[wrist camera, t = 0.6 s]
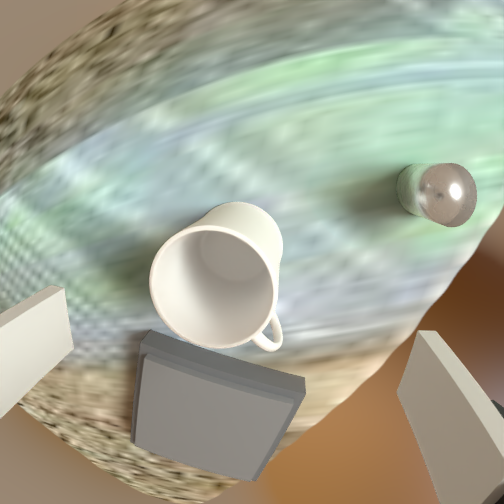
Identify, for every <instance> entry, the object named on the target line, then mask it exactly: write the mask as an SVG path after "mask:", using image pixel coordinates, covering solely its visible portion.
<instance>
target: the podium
mask: <svg viewBox="0 0 504 504" xmlns="http://www.w3.org/2000/svg"><path fill="white" fill-rule="evenodd" d="M305 395H306V389H305V378H304V377H300V376H296V375H292V374H288V373H284V372H281V371H277V370H273V369H269V368H266V367H262V366H259V365H255V364H252V363H248V362H245V361H242V360H238V359H235V358H232V357H228V356H225V355H222V354H219V353H216V352H213V351H210V350H206V349H203V348H200V347H197V346H195V345H192V344H189V343H186V342H183V341H180V340H177V339H174V338H172V337H169V336H166V335H163V334H161V333H158V332H155V331H153V330H150V331H149V332H148V334H147V335H146V336H145V337H144V339H143V340H142V341H141V342H140V349H139V357H138V365H137V373H136V382H135V391H134V401H133V413H132V425H131V440H130V442H131V443H134V444H135V446H137V447H139V448H142V449H144V450H147V451H149V452H152V453H154V454H157V455H160V456H163V457H165V458H168V459H171V460H174V461H177V462H180V463H183V464H186V465H189V466H192V467H195V468H199V469H202V470H206V471H209V472H213V473H216V474H220V475H224V476H228V477H232V478H236V479H240V480H244V481H249V482H250V481H251V480H252V481H256V480H257V479H258V477H259V475H260V474H261V472H262V471H263V469H264V467H265V466H266V464H267V462H268V461H269V459H270V458H271V456H272V454H273V452H274V451H275V449H276V447H277V446H278V444H279V442H280V440H281V439H282V437H283V435H284V433H285V432H286V430H287V428H288V426H289V425H290V423H291V421H292V419H293V417H294V415H295V414H296V412H297V410H298V408H299V406H300V404H301V402H302V400H303V399H304V397H305Z"/></svg>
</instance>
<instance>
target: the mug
mask: <svg viewBox="0 0 504 504" xmlns="http://www.w3.org/2000/svg"><path fill="white" fill-rule="evenodd" d="M282 252H283V242H282V237H281V233H280V231H279V228H278V226H277V224H276V223H275V221H274V220H273V219H272V218H271V217H270V215H268V214H267V213H266V212H265V211H264V210H262V209H261V208H259V207H257V206H255V205H252V204H249V203H244V202H229V203H225V204H222V205H219V206H217V207H215V208H214V209H212V210H211V211H209V212H208V213H207V214H206V215H205V216H204V217H203V218H202V219H200V220H198V221H196V222H195V223H193V224H191V225H190V226H188V227H186V228H185V229H183V230H181V231H180V232H178V233H176V234H175V235H173V236H172V237H171V238H169V239H168V240H167V241H166V242H165V243H164V244H163V245H162V247H161V248H160V249H159V251H158V252H157V254H156V256H155V258H154V260H153V263H152V266H151V270H150V277H149V287H150V294H151V298H152V301H153V304H154V306H155V309H156V311H157V313H158V314H159V316H160V317H161V319H162V320H163V321H164V323H165V324H166V325H167V326H168V327H169V328H170V329H171V330H172V331H173V332H174V333H176V334H177V335H178V336H180V337H181V338H183V339H185V340H186V341H188V342H191V343H193V344H196V345H199V346H202V347H207V348H217V349H221V348H230V347H235V346H238V345H241V344H244V343H246V342H248V341H250V340H252V341H253V342H254V343H255V344H256V345H257V346H259V347H260V348H262V349H263V350H266V351H275V350H277V349H278V348H279V347H280V346H281V345H282V341H283V335H282V329H281V326H280V323H279V320H278V317H277V315H276V312H275V308H276V304H277V298H278V282H279V264H280V261H281V257H282ZM269 322H270V325H271V328H272V331H273V336H274V342H272V341H270V340H269V339H268V338H266V337H265V336H264V335H263V334H262V333H261V332H262V330H263V329H264V328H265V327H266V326H267V324H268V323H269Z"/></svg>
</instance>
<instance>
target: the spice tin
mask: <svg viewBox="0 0 504 504" xmlns="http://www.w3.org/2000/svg"><path fill="white" fill-rule="evenodd" d="M396 192H397V197H398V200H399V202H400V204H401V205H402V207H403V208H404V209H405V210H407V211H408V212H410V213H412V214H415V215H417V216H420V217H423V218H425V219H428V220H431V221H433V222H436V223H439V224H441V225H444V226H447V227H457V226H460V225H462V224H464V223H465V222H466V221H467V220H468V219H469V218H470V217H471V215H472V214H473V212H474V209H475V206H476V201H477V190H476V185H475V182H474V180H473V178H472V176H471V174H470V173H469V172H468V171H467V170H466V169H465V168H464V167H462V166H460V165H458V164H454V163H432V164H413V165H410V166H408V167H406V168H405V169H404V170H403V171H402V172H401V174H400V175H399V177H398V180H397V185H396Z"/></svg>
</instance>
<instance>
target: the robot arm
mask: <svg viewBox="0 0 504 504" xmlns="http://www.w3.org/2000/svg"><path fill="white" fill-rule="evenodd" d="M73 349H74V346H73V341H72V336H71V330H70V324H69V318H68V311H67V304H66V297H65V289H64V288H62V287H57V286H53V285H50V286H48V287H46V288H44V289H43V290H41V291H39V292H37V293H36V294H34V295H32V296H30V297H29V298H27V299H25V300H23V301H22V302H20V303H18V304H16V305H15V306H13V307H11V308H10V309H8V310H6V311H5V312H3V313H1V314H0V419H1V418H2V417H3V416H4V415H5V414H6V413H7V412H8V411H9V410H10V409H11V408H12V407H13V406H14V405H15V404H16V403H17V402H18V401H19V400H20V399H21V398H22V397H23V396H24V395H25V394H26V393H27V392H28V391H29V390H30V389H31V388H32V387H33V386H34V385H35V384H36V383H38V382H39V381H40V380H41V379H42V378H43V377H44V376H45V375H46V374H47V373H48V372H49V371H50V370H51V369H52V368H53V367H55V366H56V365H57V364H58V363H59V362H60V361H61V360H62V359H63V358H64V357H65V356H66V355H67V354H69V353H70V352H71V351H72V350H73ZM397 395H398V397H399V399H400V401H401V404H402V406H403V408H404V411H405V413H406V416H407V418H408V421H409V423H410V425H411V428H412V430H413V433H414V435H415V437H416V440H417V443H418V445H419V448H420V450H421V453H422V455H423V458H424V461H425V463H426V466H427V469H428V471H429V474H430V477H431V480H432V482H433V485H434V488H435V491H436V494H437V497H438V500H439V502H440V504H504V408H503V407H502V406H501V405H499V404H498V403H497V402H495V401H494V400H490V399H489V398H488V397H487V395H486V394H485V392H484V391H483V390H482V389H481V387H480V386H479V384H478V383H477V382H476V380H475V379H474V378H473V377H472V375H471V374H470V373H469V371H468V370H467V369H466V368H465V366H464V365H463V364H462V363H461V361H460V360H459V359H458V358H457V356H456V355H455V354H454V353H453V351H452V350H451V349H450V348H449V346H448V345H447V344H446V343H445V342H444V340H443V339H442V338H441V337H440V336H439V334H438V333H437V332H436V331H418V332H417V336H416V339H415V342H414V345H413V348H412V351H411V354H410V357H409V360H408V363H407V366H406V369H405V372H404V374H403V377H402V380H401V382H400V385H399V388H398V390H397Z"/></svg>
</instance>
